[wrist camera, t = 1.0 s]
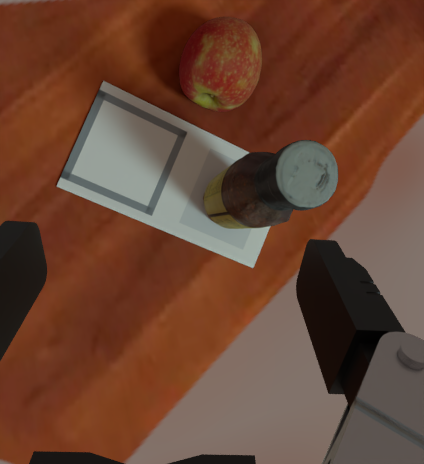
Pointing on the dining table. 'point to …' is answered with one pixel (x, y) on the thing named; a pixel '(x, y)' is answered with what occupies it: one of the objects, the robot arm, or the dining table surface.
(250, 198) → the sauce bottle
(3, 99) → the dining table surface
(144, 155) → the mat
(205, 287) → the dining table surface
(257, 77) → the apple
